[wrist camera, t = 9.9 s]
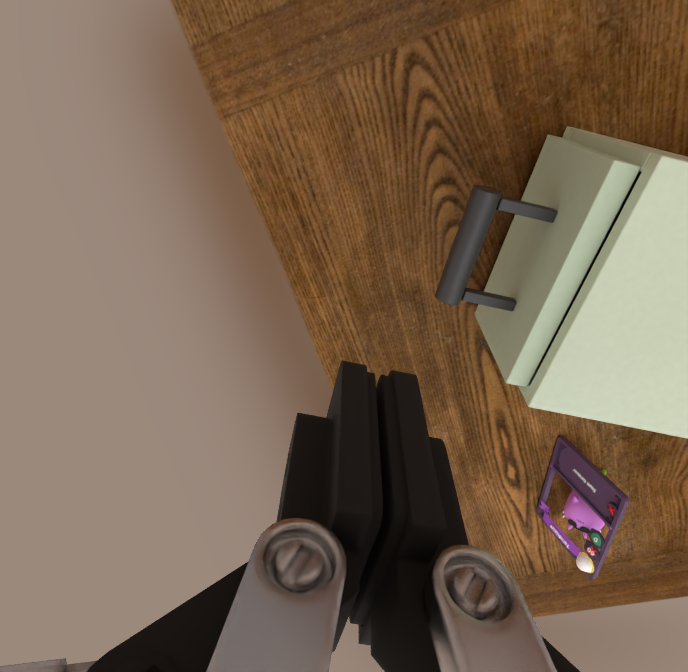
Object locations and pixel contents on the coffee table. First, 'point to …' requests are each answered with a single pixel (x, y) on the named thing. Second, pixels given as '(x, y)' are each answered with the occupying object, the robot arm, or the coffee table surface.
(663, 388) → the green drawer box
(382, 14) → the coffee table surface
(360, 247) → the coffee table surface
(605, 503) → the game card
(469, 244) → the green drawer
